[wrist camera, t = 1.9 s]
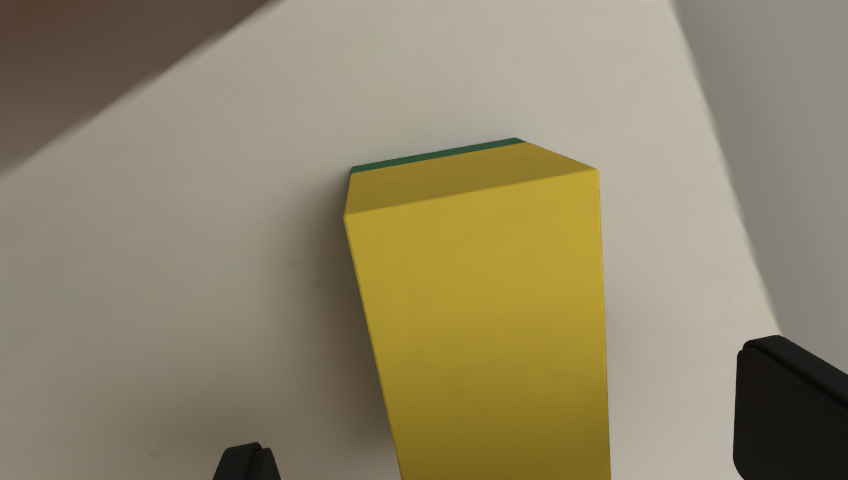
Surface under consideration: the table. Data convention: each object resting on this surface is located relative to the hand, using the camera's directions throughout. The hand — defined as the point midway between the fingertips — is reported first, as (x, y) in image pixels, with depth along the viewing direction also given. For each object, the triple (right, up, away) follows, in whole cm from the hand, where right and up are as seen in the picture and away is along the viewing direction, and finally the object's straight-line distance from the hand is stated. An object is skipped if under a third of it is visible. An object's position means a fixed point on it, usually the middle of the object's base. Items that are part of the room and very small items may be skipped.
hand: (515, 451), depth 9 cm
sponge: (-1, +2, +5) cm, 6 cm away
